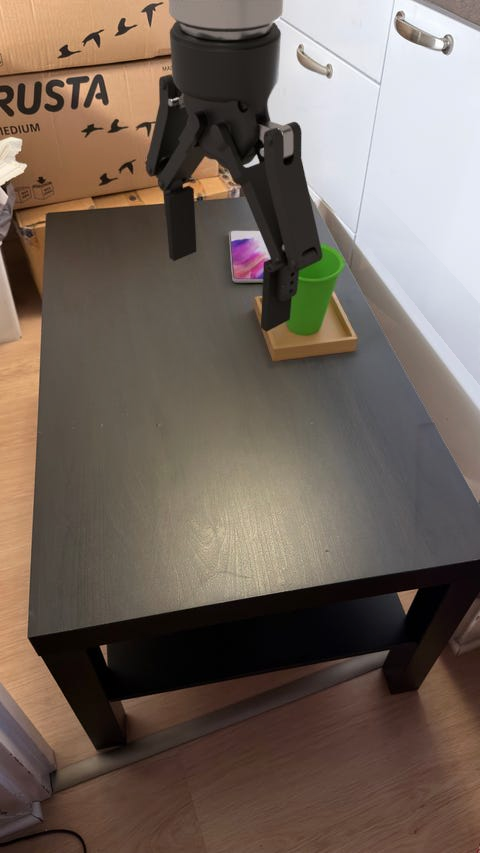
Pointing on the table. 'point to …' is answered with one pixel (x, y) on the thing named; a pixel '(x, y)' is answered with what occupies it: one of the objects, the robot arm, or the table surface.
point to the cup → (314, 292)
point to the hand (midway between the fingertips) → (226, 287)
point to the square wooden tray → (326, 340)
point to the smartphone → (247, 256)
